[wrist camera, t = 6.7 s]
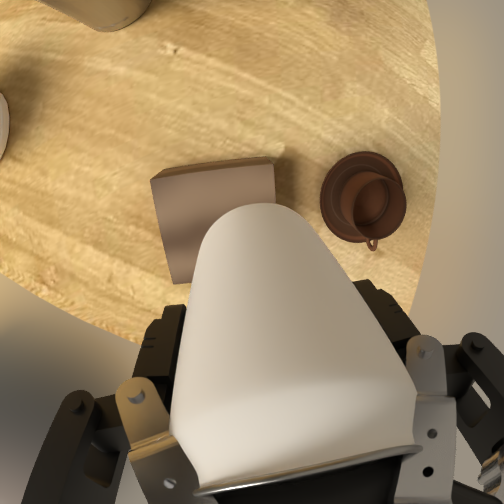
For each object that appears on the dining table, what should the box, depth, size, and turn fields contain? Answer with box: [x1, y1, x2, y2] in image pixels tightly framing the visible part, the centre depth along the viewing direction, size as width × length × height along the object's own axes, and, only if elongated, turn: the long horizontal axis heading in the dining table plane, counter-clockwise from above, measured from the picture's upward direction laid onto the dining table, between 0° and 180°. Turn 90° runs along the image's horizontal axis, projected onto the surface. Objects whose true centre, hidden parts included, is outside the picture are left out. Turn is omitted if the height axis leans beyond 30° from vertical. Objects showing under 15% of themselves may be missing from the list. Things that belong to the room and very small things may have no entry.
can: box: [169, 203, 423, 497], centre depth 9 cm, size 6×6×12 cm
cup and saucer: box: [320, 152, 406, 251], centre depth 31 cm, size 12×12×6 cm
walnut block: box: [150, 157, 276, 284], centre depth 31 cm, size 12×12×6 cm
